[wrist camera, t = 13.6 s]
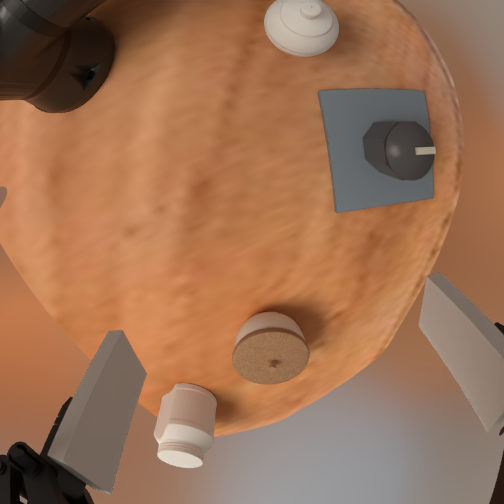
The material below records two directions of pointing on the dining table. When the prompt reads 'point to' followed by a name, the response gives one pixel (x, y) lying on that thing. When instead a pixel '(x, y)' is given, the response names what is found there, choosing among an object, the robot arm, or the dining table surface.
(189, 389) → the jar
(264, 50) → the dining table surface
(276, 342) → the lidded jar
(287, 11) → the spinning top
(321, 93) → the shaft plate
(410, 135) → the knob
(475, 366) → the robot arm
